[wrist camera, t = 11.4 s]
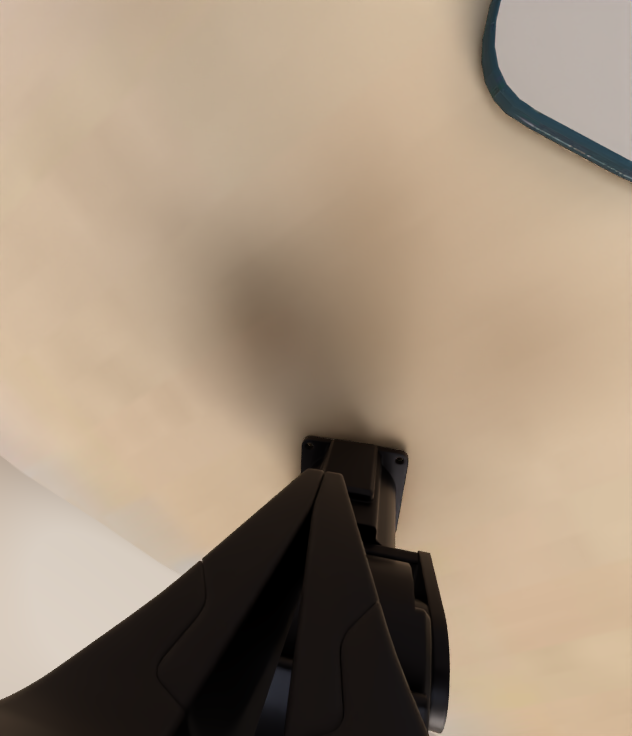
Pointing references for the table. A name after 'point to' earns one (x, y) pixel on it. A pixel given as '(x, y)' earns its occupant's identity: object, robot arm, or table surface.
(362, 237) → the table surface
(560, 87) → the external hard drive
